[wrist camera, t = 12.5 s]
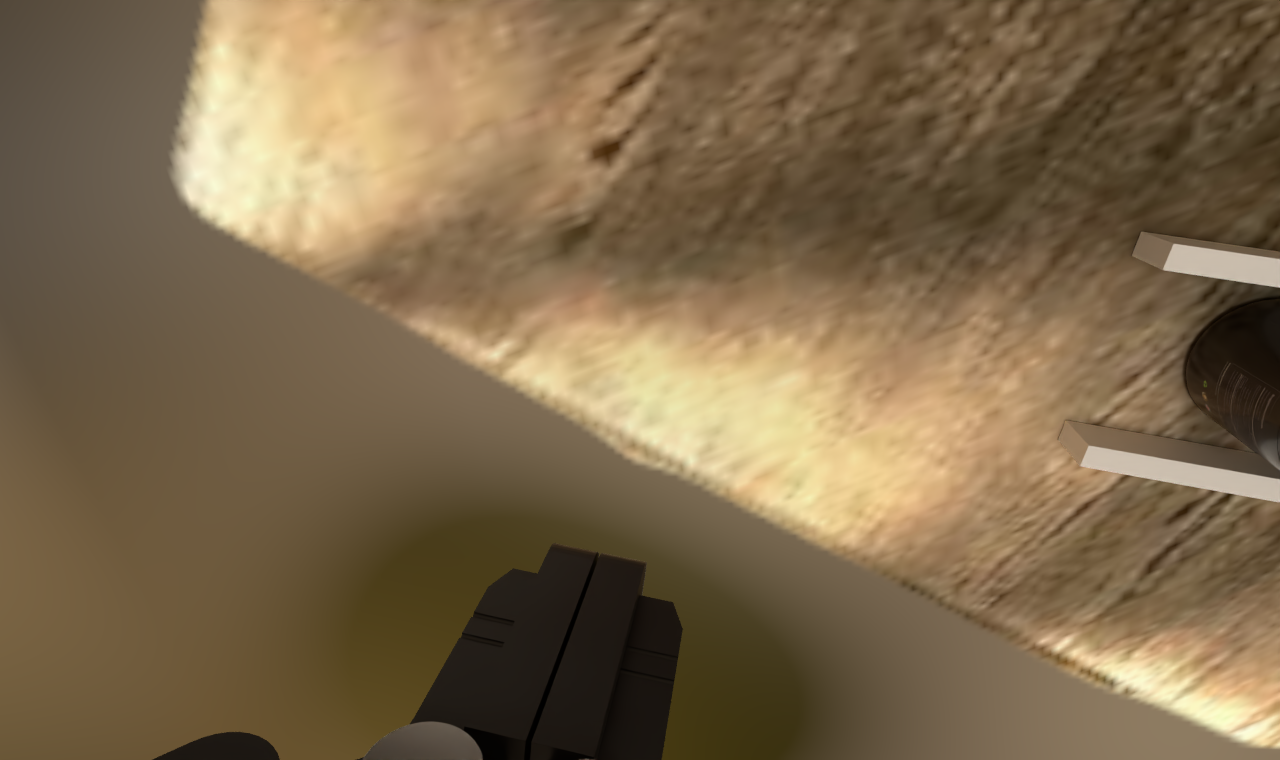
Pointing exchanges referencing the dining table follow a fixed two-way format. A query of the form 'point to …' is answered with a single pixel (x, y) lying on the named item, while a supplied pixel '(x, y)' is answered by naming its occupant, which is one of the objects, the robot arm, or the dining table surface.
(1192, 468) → the holder
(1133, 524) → the dining table surface
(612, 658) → the robot arm
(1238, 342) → the supplement bottle
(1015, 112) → the dining table surface
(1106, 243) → the dining table surface
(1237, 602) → the dining table surface
